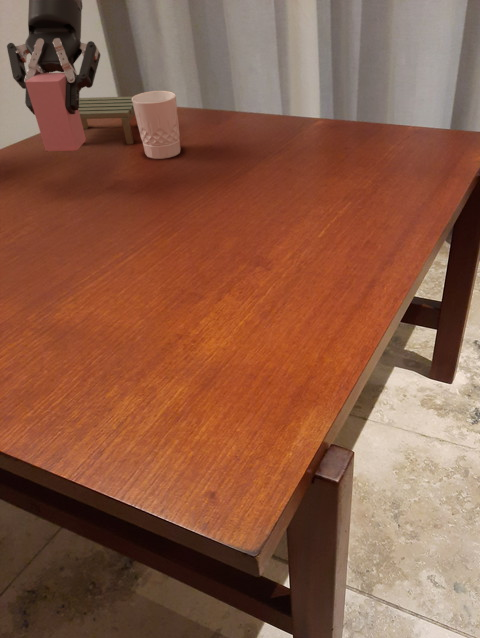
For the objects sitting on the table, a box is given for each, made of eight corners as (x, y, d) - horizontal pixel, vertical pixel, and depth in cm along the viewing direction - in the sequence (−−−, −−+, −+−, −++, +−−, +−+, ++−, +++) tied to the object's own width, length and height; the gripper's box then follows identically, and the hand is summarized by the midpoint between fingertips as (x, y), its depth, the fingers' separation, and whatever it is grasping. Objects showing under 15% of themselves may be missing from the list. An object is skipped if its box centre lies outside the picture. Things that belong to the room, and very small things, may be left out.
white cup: (170, 143, 110) (161, 88, 104) (191, 152, 106) (183, 96, 99) (135, 153, 107) (123, 97, 100) (155, 163, 102) (145, 105, 95)
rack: (65, 146, 111) (56, 114, 107) (82, 127, 120) (74, 97, 116) (133, 144, 110) (127, 112, 107) (146, 125, 119) (140, 95, 115)
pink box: (45, 151, 87) (24, 81, 81) (56, 140, 91) (37, 73, 85) (76, 150, 87) (58, 81, 81) (86, 139, 91) (69, 72, 84)
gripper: (-4, -12, 82) (-8, 98, 81) (92, -15, 81) (89, 97, 80) (22, 23, 89) (18, 125, 88) (110, 21, 89) (107, 123, 87)
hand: (52, 111), depth 84 cm, fingers closed on pink box, 5 cm apart
